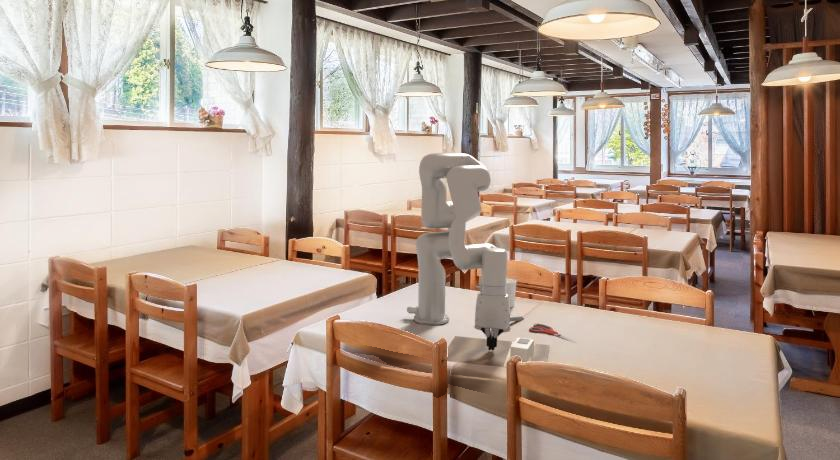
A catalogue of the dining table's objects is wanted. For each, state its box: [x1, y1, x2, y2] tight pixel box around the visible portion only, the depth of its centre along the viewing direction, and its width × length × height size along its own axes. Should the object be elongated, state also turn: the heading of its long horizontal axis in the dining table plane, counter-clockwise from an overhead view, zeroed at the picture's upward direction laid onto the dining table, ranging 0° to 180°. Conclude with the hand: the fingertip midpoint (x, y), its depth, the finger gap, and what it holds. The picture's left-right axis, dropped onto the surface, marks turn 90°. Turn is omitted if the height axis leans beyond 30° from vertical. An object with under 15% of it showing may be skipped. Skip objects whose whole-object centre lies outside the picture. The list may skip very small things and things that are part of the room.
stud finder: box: [510, 337, 535, 362], centre depth 173 cm, size 5×9×4 cm, turn 158°
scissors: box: [528, 323, 577, 344], centre depth 194 cm, size 8×21×2 cm, turn 45°
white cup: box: [506, 277, 517, 309], centre depth 228 cm, size 8×8×10 cm
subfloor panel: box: [446, 335, 550, 368], centre depth 176 cm, size 30×22×1 cm
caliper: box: [490, 315, 525, 332], centre depth 204 cm, size 20×1×6 cm, turn 141°
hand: (491, 348), depth 177 cm, fingers closed
